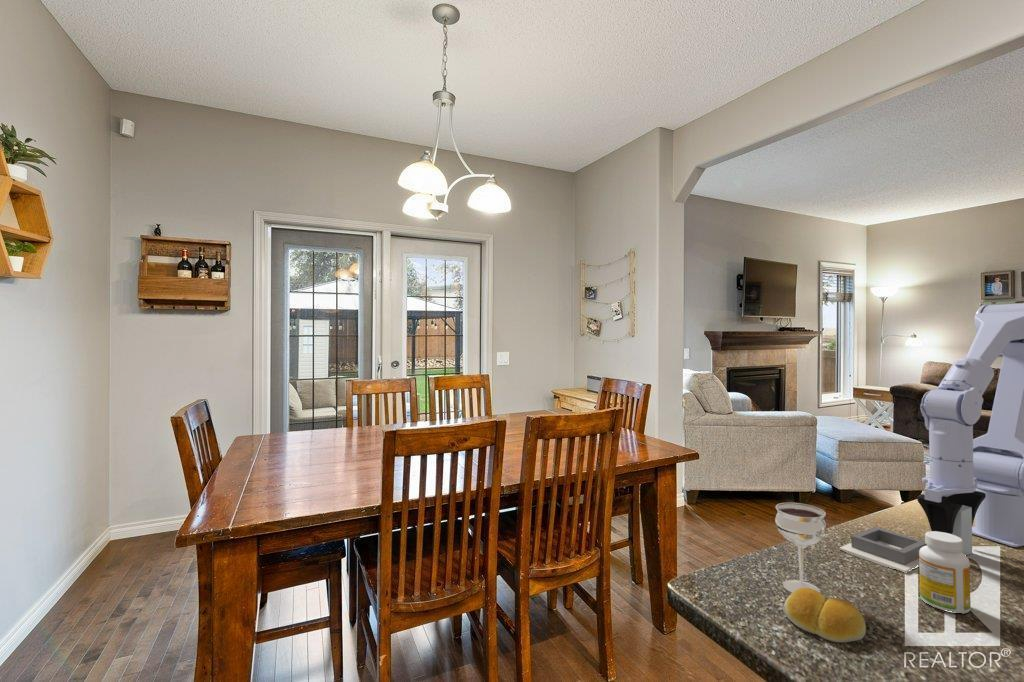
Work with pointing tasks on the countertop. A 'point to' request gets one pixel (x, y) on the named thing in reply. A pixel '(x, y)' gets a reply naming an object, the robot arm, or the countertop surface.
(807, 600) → the bread roll
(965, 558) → the supplement bottle
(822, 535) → the wineglass
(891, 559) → the dock
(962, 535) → the block
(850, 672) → the countertop surface
